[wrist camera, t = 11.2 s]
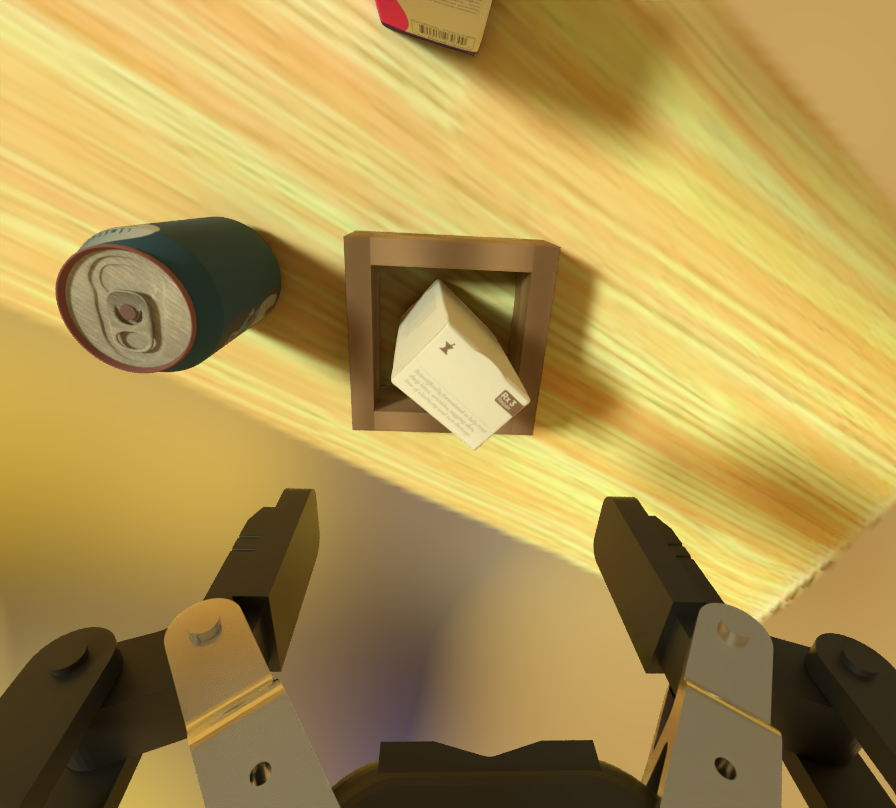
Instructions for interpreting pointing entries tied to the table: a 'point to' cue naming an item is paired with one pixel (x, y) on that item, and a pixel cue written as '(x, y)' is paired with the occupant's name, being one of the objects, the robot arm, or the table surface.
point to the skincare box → (455, 367)
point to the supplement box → (438, 21)
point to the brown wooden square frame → (524, 256)
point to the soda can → (166, 291)
